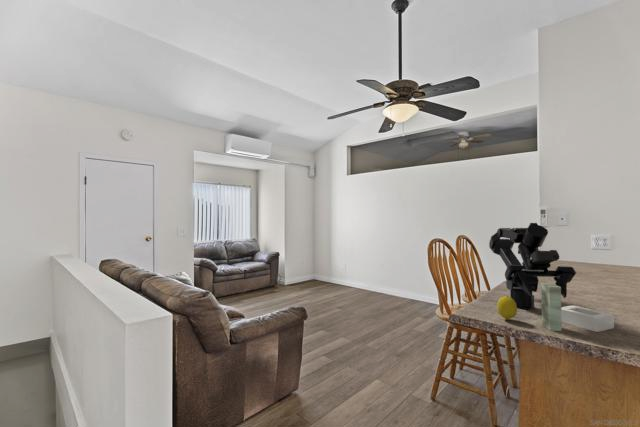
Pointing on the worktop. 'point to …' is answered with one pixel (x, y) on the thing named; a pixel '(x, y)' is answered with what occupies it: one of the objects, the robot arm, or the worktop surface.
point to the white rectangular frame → (587, 318)
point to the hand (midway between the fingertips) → (548, 296)
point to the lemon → (507, 307)
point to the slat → (551, 306)
